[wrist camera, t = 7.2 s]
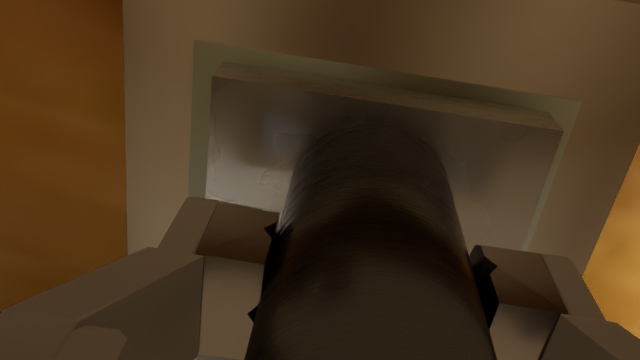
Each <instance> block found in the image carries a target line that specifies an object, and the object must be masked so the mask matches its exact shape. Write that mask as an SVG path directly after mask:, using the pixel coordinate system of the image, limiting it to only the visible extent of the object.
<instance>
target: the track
mask: <svg viewBox="0 0 640 360" xmlns="http://www.w3.org/2000/svg"><path fill="white" fill-rule="evenodd" d="M123 49H124V99H125V148H126V197H127V246H128V255H130V254H132V253H135V252H137V251H139V250H142V249H144V248H146V247H154V248H157V247H158V246H159V244H160V242H161V241H162V239H163V237H164V235H165V234H166V232H167V230H168V229H169V227H170V225H171V223H172V222H173V220H174V218H175V217H176V215H177V213H178V211H179V210H180V208H181V206H182V205H183V203H184V201H185V199H186V198H188V197H190V196H193V197H200V198H206V179H207V160H208V141H209V122H210V104H211V85H212V75H213V74H214V73H215V72H216V70H217V69H218V68H219V67H220V65H221V64H222V63H223V62H224V61H226V62H232V63H238V64H245V65H251V66H257V67H264V68H270V69H276V70H283V71H289V72H296V73H302V74H308V75H315V76H321V77H327V78H334V79H340V80H346V81H353V82H359V83H366V84H372V85H378V86H385V87H391V88H397V89H404V90H410V91H416V92H423V93H429V94H436V95H442V96H448V97H455V98H461V99H467V100H474V101H480V102H486V103H493V104H499V105H506V106H512V107H518V108H525V109H531V110H537V111H544V112H549V113H550V114H551V116H552V117H553V118H554V119H555V121H556V122H557V123H558V124H559V126H560V127H561V128H562V129H563V131H564V132H563V135H562V138H561V141H560V143H559V146H558V149H557V152H556V154H555V157H554V160H553V163H552V165H551V168H550V171H549V174H548V176H547V179H546V182H545V185H544V187H543V190H542V193H541V196H540V199H539V201H538V204H537V207H536V210H535V212H534V215H533V218H532V221H531V223H530V226H529V229H528V232H527V234H526V237H525V240H524V243H523V245H522V248H521V251H527V252H534V253H541V254H549V255H557V256H566V257H568V258H569V259H571V260H572V261H573V262H574V264H575V266H576V268H577V269H578V271H579V273H580V275H581V277H582V275H583V273H584V270H585V268H586V266H587V263H588V261H589V259H590V257H591V254H592V252H593V250H594V247H595V245H596V243H597V240H598V238H599V236H600V233H601V231H602V229H603V227H604V224H605V222H606V220H607V217H608V215H609V213H610V210H611V208H612V206H613V203H614V201H615V199H616V196H617V194H618V192H619V190H620V187H621V185H622V183H623V180H624V178H625V176H626V173H627V171H628V169H629V166H630V164H631V162H632V160H633V157H634V155H635V153H636V150H637V148H638V146H639V143H640V0H123ZM194 360H197V358H195V359H194Z"/></svg>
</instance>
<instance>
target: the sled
mask: <svg viewBox="0 0 640 360" xmlns="http://www.w3.org/2000/svg"><path fill="white" fill-rule="evenodd" d="M563 132H564V131H563V129H562V128H561V127H560V126H559V124H558V123H557V122H556V121H555V119H554V118H553V117H552V116H551V114H550V113H549V112H544V111H537V110H531V109H525V108H518V107H512V106H506V105H499V104H493V103H486V102H480V101H474V100H467V99H461V98H455V97H448V96H442V95H436V94H429V93H423V92H416V91H410V90H404V89H397V88H391V87H385V86H378V85H372V84H366V83H359V82H353V81H346V80H340V79H334V78H327V77H321V76H315V75H308V74H302V73H296V72H289V71H283V70H276V69H270V68H264V67H257V66H251V65H245V64H238V63H232V62H226V61H224V62H223V63H222V64H221V65H220V67H219V68H218V69H217V70H216V72H215V73H214V74H213V75H212V85H211V104H210V122H209V141H208V160H207V179H206V198H207V199H214V200H219V201H220V202H221V201H224V202H229V203H235V204H240V205H245V206H251V207H256V208H262V209H267V210H273V211H278V212H280V215H279V225H278V233H277V237H276V241H275V245H274V249H273V253H272V256H271V259H270V262H269V266H268V272H267V276H266V280H265V284H264V288H263V291H262V295H261V299H260V302H259V304H258V308H257V312H256V316H255V320H254V324H253V327H252V331H251V335H250V339H249V343H248V347H247V350H246V354H245V358H244V360H497V357H496V353H495V349H494V346H493V342H492V338H491V335H490V331H489V327H488V324H487V320H486V316H485V313H484V309H483V305H482V302H481V298H480V294H479V291H478V287H477V283H476V280H475V276H474V272H473V269H472V265H471V261H470V258H469V256H470V253H471V251H472V250H473V248H474V246H475V245H483V246H491V247H498V248H505V249H512V250H520V251H521V248H522V245H523V243H524V240H525V237H526V234H527V232H528V229H529V226H530V223H531V221H532V218H533V215H534V212H535V210H536V207H537V204H538V201H539V199H540V196H541V193H542V190H543V187H544V185H545V182H546V179H547V176H548V174H549V171H550V168H551V165H552V163H553V160H554V157H555V154H556V152H557V149H558V146H559V143H560V141H561V138H562V135H563ZM197 360H240V359H232V358H225V357H217V356H210V355H203V354H198V355H197Z"/></svg>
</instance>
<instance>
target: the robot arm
mask: <svg viewBox="0 0 640 360" xmlns="http://www.w3.org/2000/svg"><path fill="white" fill-rule="evenodd" d="M279 215H280V212H278V211H273V210H267V209H262V208H256V207H251V206H245V205H240V204H235V203H229V202H224V201H221V202H220V201H219V200H214V199H207V198H200V197H193V196H190V197H188V198H186V199H185V201H184V203H183V205H182V206H181V208H180V210H179V211H178V213H177V215H176V217H175V218H174V220H173V222H172V223H171V225H170V227H169V229H168V230H167V232H166V234H165V235H164V237H163V239H162V241H161V242H160V244H159V246H158V247H157V248H154V247H146V248H144V249H142V250H139V251H137V252H135V253H132V254H130V255H128V256H125V257H123V258H121V259H118V260H116V261H114V262H111V263H109V264H107V265H105V266H102V267H100V268H98V269H95V270H93V271H91V272H88V273H86V274H84V275H81V276H79V277H77V278H74V279H72V280H70V281H67V282H65V283H63V284H60V285H58V286H56V287H53V288H51V289H49V290H46V291H44V292H42V293H39V294H37V295H35V296H33V297H30V298H28V299H26V300H23V301H21V302H19V303H16V304H14V305H12V306H9V307H7V308H5V309H3V311H2V312H1V313H0V360H194V359H195V358H197V355H198V354H203V355H210V356H217V357H225V358H232V359H240V360H244V358H245V354H246V350H247V347H248V343H249V339H250V335H251V331H252V327H253V324H254V320H255V316H256V312H257V308H258V304H259V302H260V299H261V295H262V291H263V288H264V284H265V280H266V276H267V272H268V266H269V262H270V259H271V256H272V253H273V249H274V245H275V241H276V237H277V233H278V225H279ZM469 258H470V261H471V265H472V269H473V272H474V276H475V280H476V283H477V287H478V291H479V294H480V298H481V302H482V305H483V309H484V313H485V316H486V320H487V324H488V327H489V331H490V335H491V338H492V342H493V346H494V349H495V353H496V357H497V360H640V339H638V338H637V337H636V336H634V335H633V334H631V333H630V332H629V331H627V330H626V329H624V328H623V327H622V326H620V325H619V324H617V323H614V322H608V321H606V319H605V318H604V316H603V314H602V312H601V311H600V309H599V307H598V305H597V303H596V302H595V300H594V298H593V296H592V294H591V293H590V291H589V289H588V287H587V286H586V284H585V282H584V280H583V278H582V277H581V275H580V273H579V271H578V269H577V268H576V266H575V264H574V262H573V261H572V260H571V259H569V258H568V257H566V256H557V255H549V254H541V253H534V252H527V251H520V250H512V249H505V248H498V247H491V246H483V245H475V246H474V248H473V250H472V251H471V253H470V256H469Z"/></svg>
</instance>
